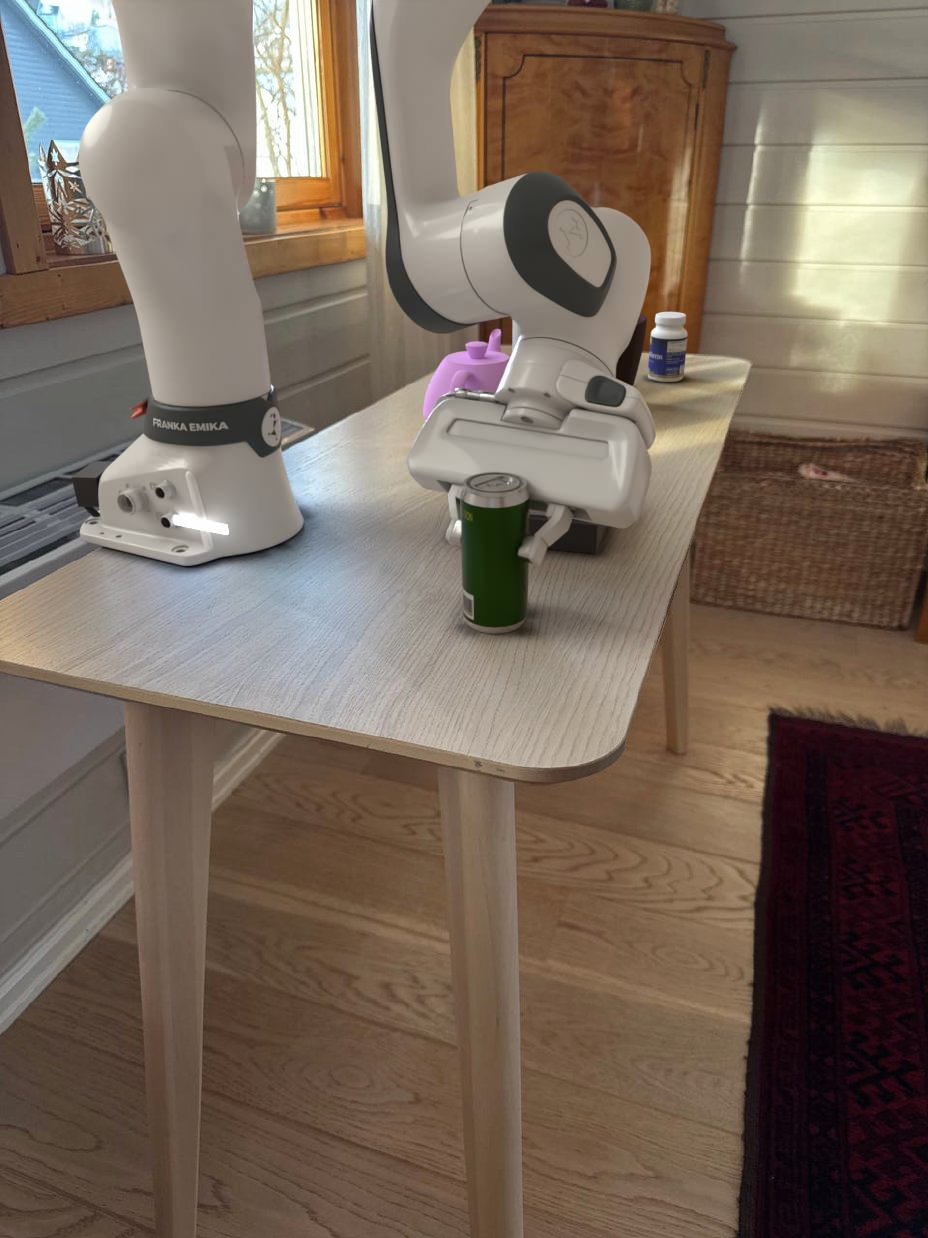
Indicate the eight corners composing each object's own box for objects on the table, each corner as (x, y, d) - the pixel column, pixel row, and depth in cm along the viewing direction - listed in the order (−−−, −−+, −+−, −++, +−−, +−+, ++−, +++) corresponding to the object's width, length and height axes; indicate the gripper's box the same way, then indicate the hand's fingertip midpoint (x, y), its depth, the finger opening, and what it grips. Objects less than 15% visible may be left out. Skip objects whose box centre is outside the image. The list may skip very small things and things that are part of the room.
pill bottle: (640, 376, 146) (645, 312, 141) (672, 372, 147) (678, 309, 143) (657, 384, 141) (663, 318, 136) (690, 381, 143) (696, 315, 138)
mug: (643, 394, 136) (649, 312, 130) (635, 420, 124) (641, 331, 118) (577, 391, 138) (581, 310, 132) (563, 417, 126) (566, 329, 120)
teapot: (452, 411, 130) (450, 324, 124) (548, 417, 126) (550, 328, 120) (403, 453, 113) (398, 355, 107) (512, 463, 109) (513, 361, 103)
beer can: (487, 642, 71) (486, 500, 65) (450, 616, 75) (446, 479, 69) (540, 623, 74) (544, 485, 68) (502, 598, 78) (502, 466, 72)
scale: (455, 539, 89) (454, 505, 87) (491, 491, 101) (491, 460, 99) (596, 554, 85) (597, 519, 84) (616, 502, 97) (618, 470, 95)
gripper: (428, 365, 76) (367, 511, 73) (660, 394, 66) (599, 563, 63) (457, 404, 81) (401, 542, 78) (675, 436, 72) (619, 594, 69)
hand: (491, 552), depth 71 cm, fingers closed on beer can, 5 cm apart
